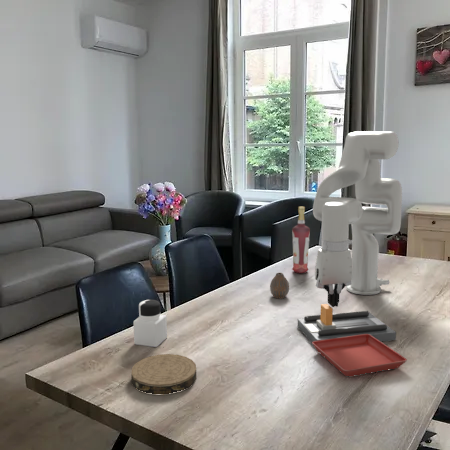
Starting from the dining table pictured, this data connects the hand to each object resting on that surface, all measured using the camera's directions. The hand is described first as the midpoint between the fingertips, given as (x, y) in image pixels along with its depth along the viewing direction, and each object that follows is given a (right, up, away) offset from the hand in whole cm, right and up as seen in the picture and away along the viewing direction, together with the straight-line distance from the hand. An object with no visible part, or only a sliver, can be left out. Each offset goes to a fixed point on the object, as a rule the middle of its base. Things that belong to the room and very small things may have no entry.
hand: (333, 305), depth 148 cm
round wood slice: (-47, -15, -24) cm, 55 cm away
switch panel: (+4, -9, +2) cm, 10 cm away
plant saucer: (+3, -13, -16) cm, 20 cm away
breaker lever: (-2, -6, 0) cm, 7 cm away
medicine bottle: (-53, -10, -2) cm, 54 cm away
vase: (-12, -3, +35) cm, 37 cm away
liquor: (0, +3, +65) cm, 65 cm away
